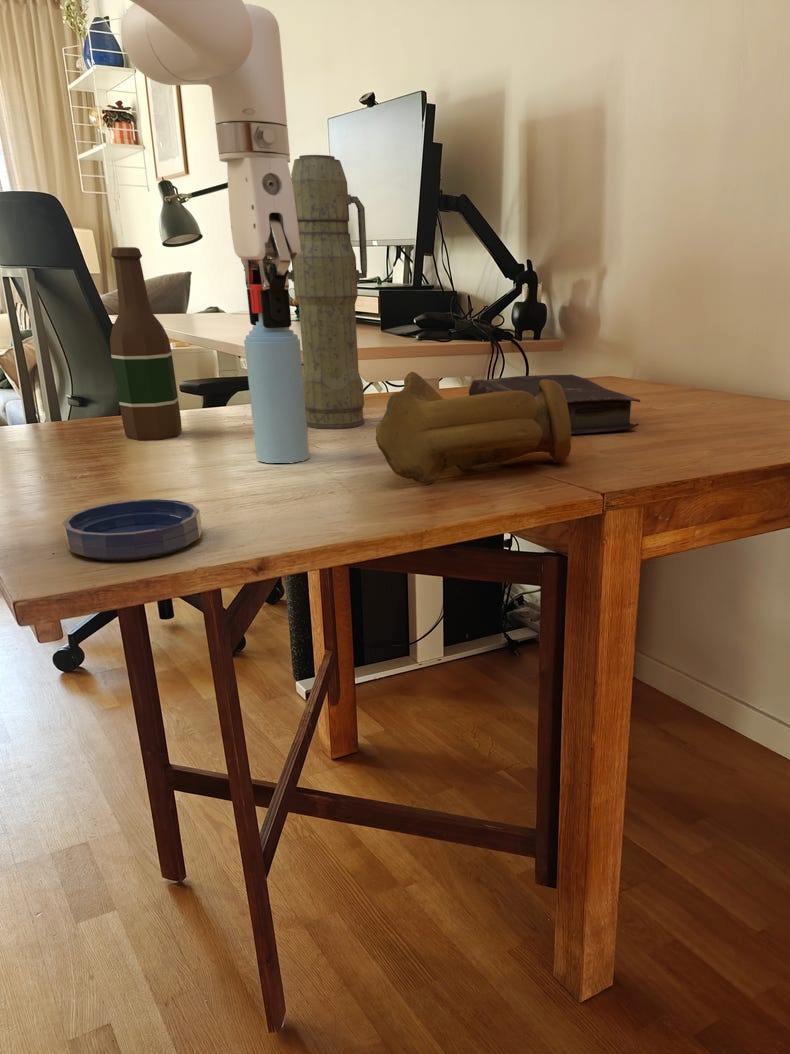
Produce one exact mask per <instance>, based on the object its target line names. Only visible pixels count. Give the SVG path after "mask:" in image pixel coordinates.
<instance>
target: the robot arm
mask: <svg viewBox="0 0 790 1054" xmlns="http://www.w3.org/2000/svg"><path fill="white" fill-rule="evenodd" d="M129 1H130V2H131V3H132V4H131V5H130V6H128V8H127V9H126V11H125V13H124V15H123V18H122V21H121V29H120V30H121V31H120V35H121V42H122V45H123V48H124V52H125V53H126V55H127V57H128V59H129V61H130V62H131V63H132V64H133V66H134V68H136V70H138V71H139V72H140V73H141V74H142V75H144V76H145V77H147V78H148V79H149V80H152V81H154V82H156V83H159V84H162V85H165V86H166V85H168V86H191V85H192V86H193V85H194V86H195V85H196V86H198V85H202V86H203V85H204V86H208V87H210V89H211V97H212V105H213V106H212V107H213V115H214V125H215V132H216V133H215V134H216V142H217V152H218V160H219V162H222V163H226V165H227V166H226V171H227V172H226V173H227V174H226V175H227V189H228V190H227V193H228V207H229V208H228V209H229V221H230V222H229V223H230V229H231V230H230V231H231V238H232V245H233V250H234V253H235V255H236V256H237V257H238V258H239V259H240V262H241V264H242V266H243V271H244V280H245V287H246V296H247V304H248V314H249V323H250V325H251V326H256V322H258V321H259V317H258V313H252V308H251V298H250V285H251V284H262V287H263V290H260V299H261V309H262V320H263V326H264V327H265V328H284V327H289V328H290V327H292V315H291V303H290V292H289V289H290V282H289V281H290V280H289V279H288V272H290V270H289V269H290V265H291V264H292V260H295V259H297V258H298V257H299V255H300V252H301V250H300V239H299V230H298V222H297V214H296V206H295V198H294V192H293V185H292V180H291V177H292V176H291V171H290V167H289V164H290V163H291V156H290V155H291V154H290V143H289V142H290V141H289V131H288V130H289V128H288V119H287V118H288V116H287V105H286V92H285V80H284V69H283V68H284V67H283V56H282V44H281V32H280V25H279V23H278V20H277V18H276V16H275V14H273V13H272V12H271V11H270V10H269V9H267V8H265V7H263V6H260V5H256V4H252V3H244V1H243V0H129Z"/></svg>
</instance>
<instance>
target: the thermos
mask: <svg viewBox="0 0 790 1054" xmlns="http://www.w3.org/2000/svg"><path fill="white" fill-rule="evenodd" d="M291 170H292V171H291V173H290V175H291V180H292V185H293V192H294V198H295V206H296V214H297V222H298V230H299V239H300V250H301V252H300V255H299V257H298V258H297V259H295V260H291V268H292V269H291V270H290V271H289V272H288V281H291V282H292V283H293V293H294V298H295V300H296V302H297V304H298V314H299V324H300V325H299V326H300V337H301V339H300V340H301V350H302V351H301V352H302V365H303V385H304V397H305V410H306V422H307V427H308V428H313V429H320V430H321V429H322V430H339V429H340V430H341V429H351V428H356V427H359V426H363V425H364V424H365V419H364V406H365V395H364V394H365V393H364V384H363V380H362V377H361V375H360V370H359V355H358V335H357V334H358V333H357V316H356V302H357V299H358V298H359V293H358V291H359V290H358V282H360V280H361V279H362V280H363V279H367V277H368V252H367V251H368V249H367V231H366V212H365V211H366V210H365V208H366V207H365V206H364V205H363V203H362V202H361V200H360V199H359V197H358V196H355V195H351V194H349V191H348V190H349V188H348V180H347V177H346V173H345V171H344V168H343V165H342V162H341V160H340V159H337V158H336V157H335V156H333V155H327V154H303V155H302V154H301V155H299V156H298V158H295V159H294V160H293V165H292V169H291ZM352 204H355V207H356V209H357V224H358V247H359V263H360V265H359V266H360V270H359V269H357V256H356V254H355V250H354V248H353V245H352V242H351V241H352V240H351V233H349V222H350V208H349V207H350V206H351V205H352ZM349 205H350V206H349ZM360 271H361V272H360Z"/></svg>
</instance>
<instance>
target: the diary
mask: <svg viewBox="0 0 790 1054" xmlns="http://www.w3.org/2000/svg"><path fill="white" fill-rule="evenodd" d="M544 379H548V380H553V381H556V382H557V383H558V384H560V385H561V387H562V388H563V391H564V394H565V397H566V401H567V406H568V411H569V417H570V424H571V435H577V434H578V435H579V434H592V433H593V434H595V433H607V432H617V431H624V430H625V431H626V430H631V429H634V428H636V427H638V426H639V425H640V424H639V422H637V423H635V424H634V423H631V410H632V402H638V403H641V399H639V398H636V397H633V396H630V395H627V394H623V393H621V392H617V391H615V390H612V389H609V388H605V387H604V386H601V385H599V384H598V383H595V382H594V381H592V380H590V379H588V378H585V377H583V376H578V375H575V374H539V375H538V374H535V375H517V376H507V377H506V376H505V377H496V378H488V379H473V381H472V382H471V384H470V386H469V388H468V396H472V395H478V394H485V393H492V392H502V391H525V392H528V393H530V394H532V395H533V396H534V397H536V396H537V395H538V394H539V382H540V381H541V380H544Z"/></svg>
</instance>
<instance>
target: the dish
mask: <svg viewBox="0 0 790 1054" xmlns="http://www.w3.org/2000/svg"><path fill="white" fill-rule="evenodd" d="M61 525H62V530H63V535H64V540H65V544H66V547H67V549H68V550H69V551H70V552H71V553H74V554H76V555H80V556H83V557H85V558H89V559H92V560H97V561H107V562H118V561H119V562H124V561H137V560H138V561H139V560H146V559H151V558H152V559H153V558H157V557H161V556H165V555H169V554H172V553H175V552H178V551H180V550H183V549H185V548H186V547H188V546H189V545H190V544H192V543H193V542H195V541H197V540H199V539H200V538H201V535H202V533H203V526H202V519H201V512H200V509H199V508H198V507H197V506H195V505H194V504H193V503H189V502H185V501H180V500H175V499H159V498H158V499H157V498H153V499H132V500H123V501H116V502H109V503H103V504H100V505H95V506H92V507H87V508H84V509H81V510H78V511H76V512H73V513H72V514H69V515H68V516H67V517H66V518H65V519H64V520H63V521H62V522H61Z"/></svg>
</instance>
